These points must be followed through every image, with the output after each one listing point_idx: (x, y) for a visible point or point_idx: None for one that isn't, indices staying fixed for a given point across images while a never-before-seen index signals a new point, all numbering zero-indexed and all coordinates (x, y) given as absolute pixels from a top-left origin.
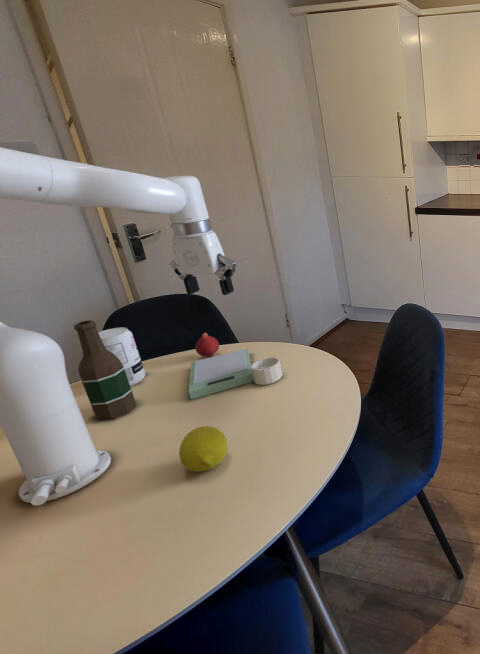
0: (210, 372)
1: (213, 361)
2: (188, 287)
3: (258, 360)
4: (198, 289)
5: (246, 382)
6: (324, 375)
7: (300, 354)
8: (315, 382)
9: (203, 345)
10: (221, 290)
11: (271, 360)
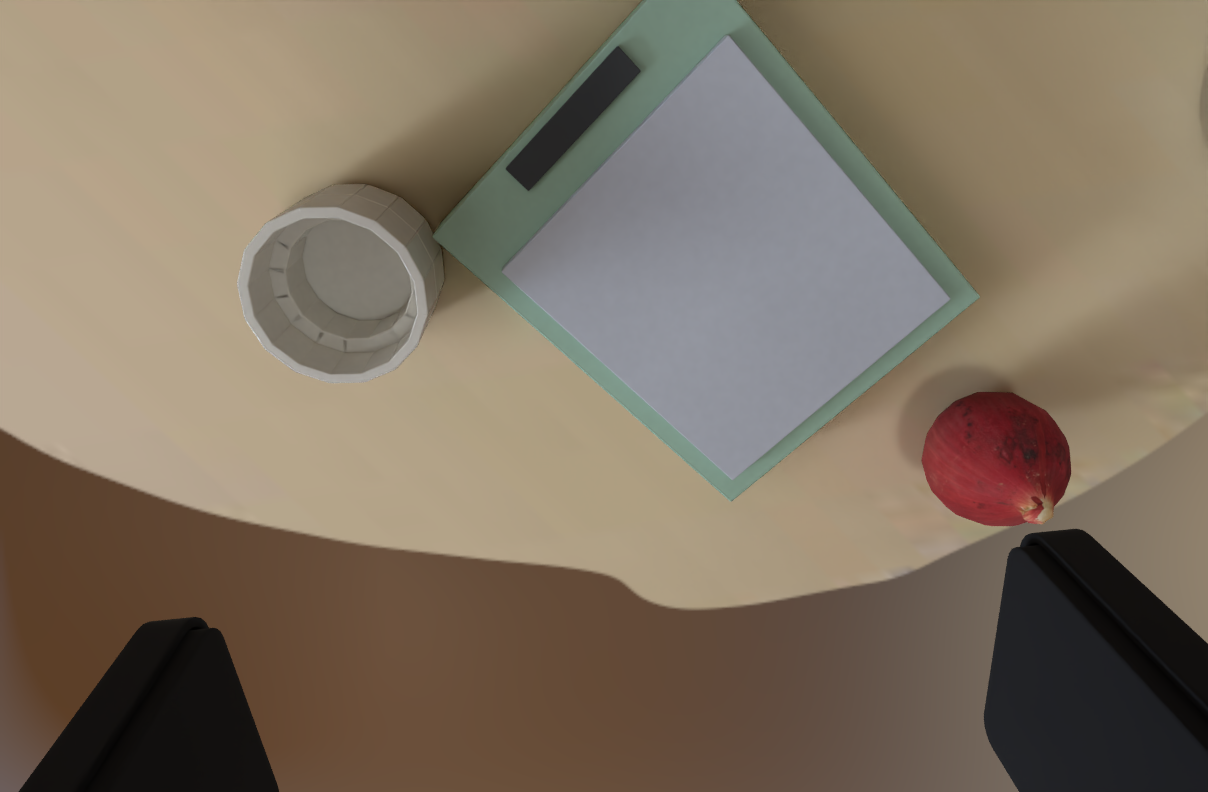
0: (719, 186)
1: (815, 316)
2: (1122, 661)
3: (421, 326)
4: (995, 731)
5: (465, 196)
6: (53, 360)
7: (412, 533)
8: (35, 281)
9: (993, 433)
10: (169, 700)
11: (369, 364)
